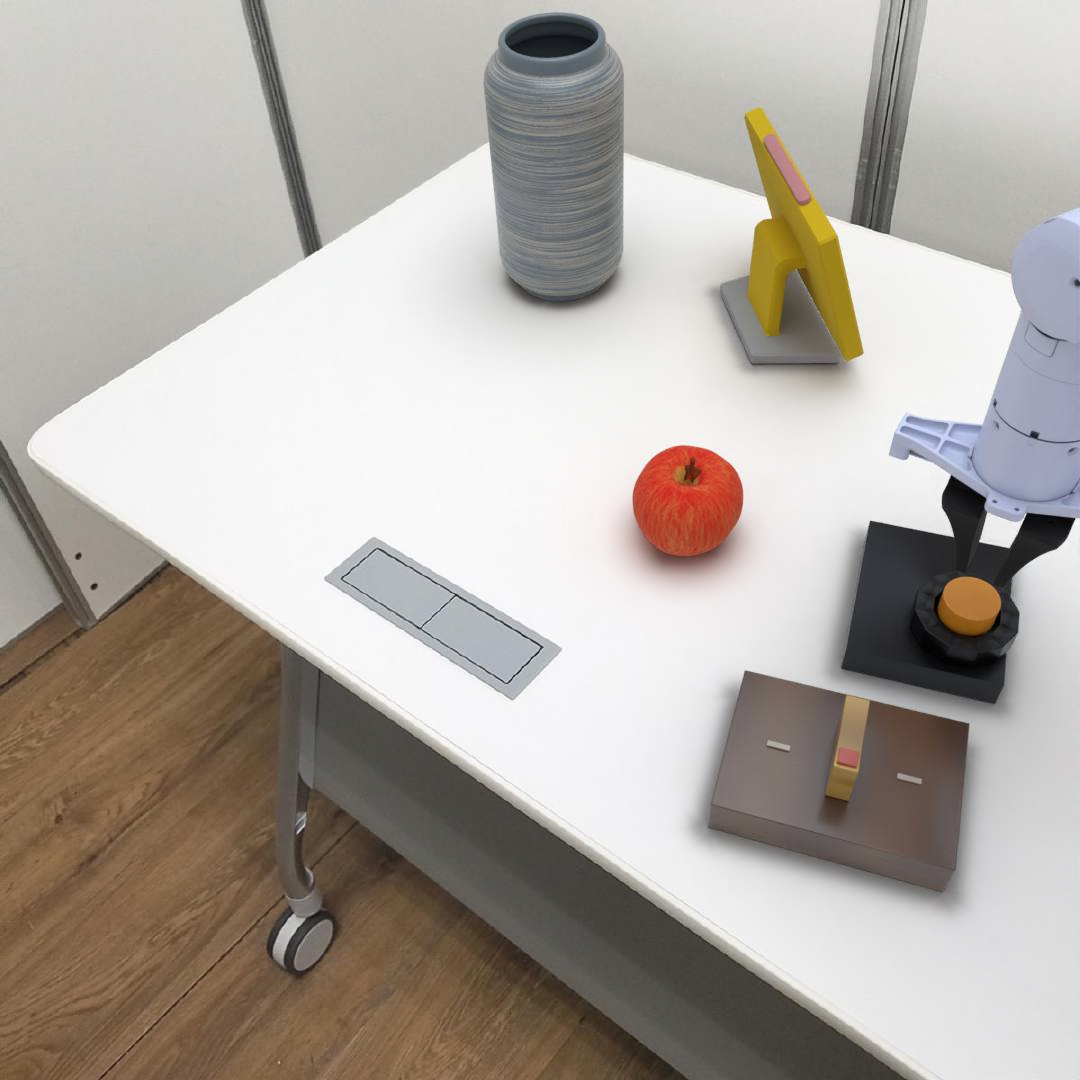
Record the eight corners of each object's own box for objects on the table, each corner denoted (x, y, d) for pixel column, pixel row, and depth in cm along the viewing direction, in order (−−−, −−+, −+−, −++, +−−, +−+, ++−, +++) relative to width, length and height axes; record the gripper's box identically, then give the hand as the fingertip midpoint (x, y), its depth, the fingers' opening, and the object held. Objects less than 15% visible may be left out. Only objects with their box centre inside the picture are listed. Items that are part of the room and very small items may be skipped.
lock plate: (958, 747, 70) (970, 721, 68) (943, 892, 64) (956, 869, 61) (740, 695, 73) (745, 668, 71) (707, 827, 67) (710, 803, 65)
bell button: (996, 599, 73) (1003, 582, 72) (992, 641, 71) (999, 625, 69) (940, 587, 74) (945, 571, 72) (934, 629, 72) (940, 613, 70)
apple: (700, 480, 86) (707, 405, 80) (759, 548, 82) (770, 473, 76) (612, 517, 84) (612, 443, 78) (666, 589, 80) (670, 515, 73)
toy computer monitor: (857, 387, 93) (892, 224, 81) (766, 400, 92) (789, 239, 80) (786, 252, 106) (807, 95, 94) (706, 263, 105) (718, 107, 93)
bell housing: (1009, 569, 79) (1025, 532, 76) (999, 705, 72) (1015, 670, 69) (864, 539, 82) (874, 503, 79) (840, 668, 74) (850, 633, 71)
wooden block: (837, 725, 68) (846, 692, 65) (860, 730, 68) (871, 697, 65) (824, 795, 65) (833, 763, 62) (848, 801, 65) (859, 770, 62)
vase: (509, 238, 110) (489, 4, 92) (625, 239, 108) (627, 2, 91) (495, 310, 102) (470, 70, 85) (620, 312, 101) (620, 69, 84)
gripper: (889, 406, 59) (849, 566, 69) (1177, 502, 53) (1087, 661, 64) (933, 333, 63) (889, 495, 73) (1206, 416, 57) (1117, 579, 68)
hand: (984, 568), depth 69 cm, fingers closed
